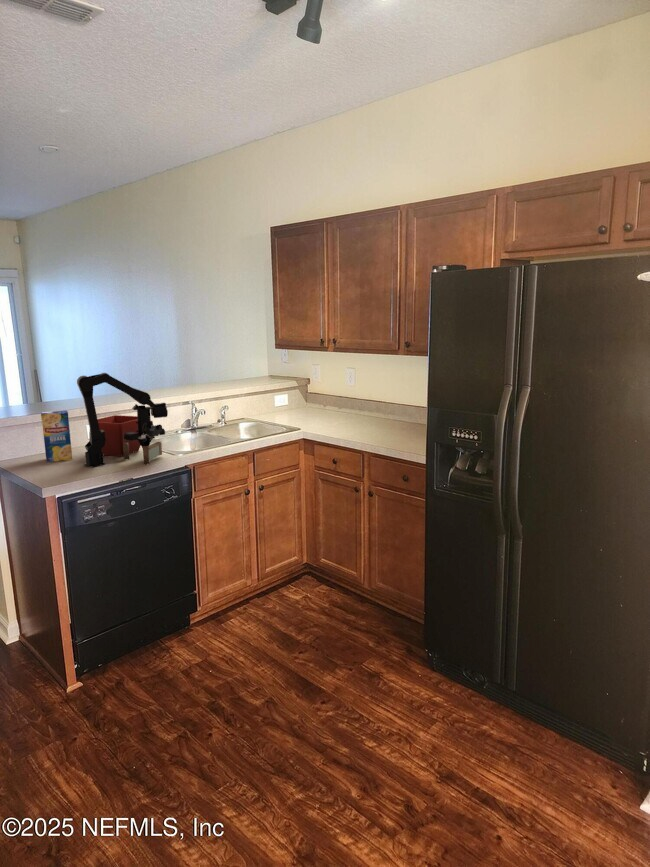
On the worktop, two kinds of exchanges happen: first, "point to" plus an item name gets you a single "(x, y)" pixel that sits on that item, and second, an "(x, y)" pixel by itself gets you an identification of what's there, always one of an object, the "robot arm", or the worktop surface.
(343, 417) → the worktop surface
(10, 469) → the worktop surface
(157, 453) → the panel
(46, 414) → the blue cardboard box
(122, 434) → the plant pot
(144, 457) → the gate frame
